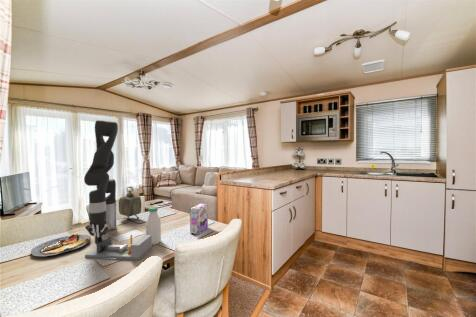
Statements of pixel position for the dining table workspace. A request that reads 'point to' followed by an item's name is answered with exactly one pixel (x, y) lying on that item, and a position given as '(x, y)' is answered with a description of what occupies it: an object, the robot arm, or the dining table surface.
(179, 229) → the dining table surface
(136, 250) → the base
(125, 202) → the tabletop clock
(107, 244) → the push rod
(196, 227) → the candy box
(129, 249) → the needle
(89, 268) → the dining table surface
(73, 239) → the food plate
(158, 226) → the milk bottle
